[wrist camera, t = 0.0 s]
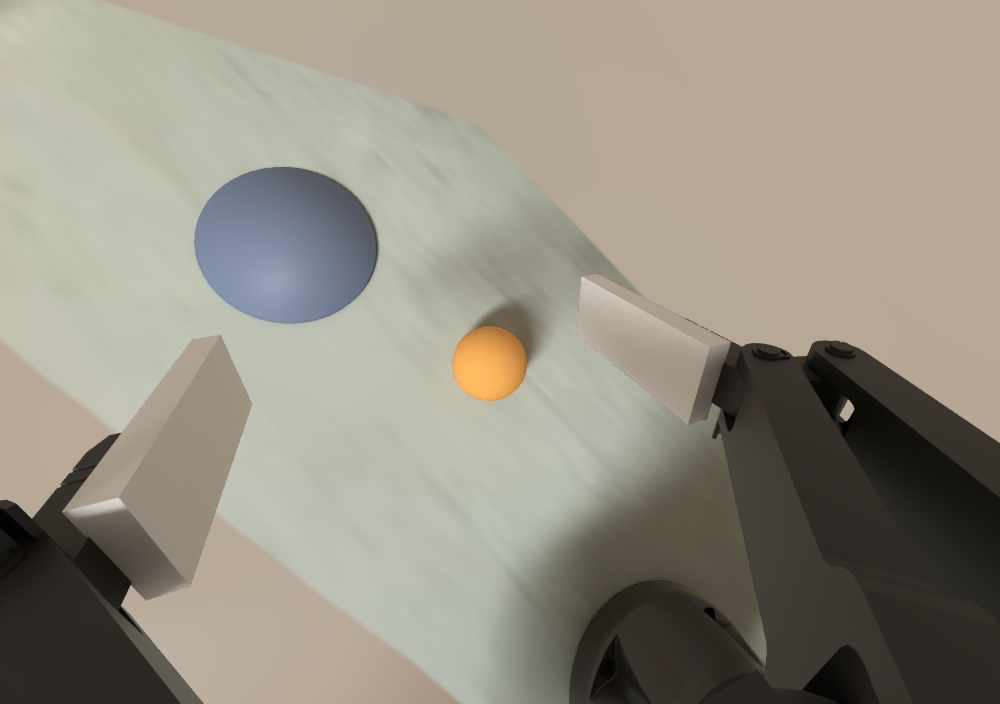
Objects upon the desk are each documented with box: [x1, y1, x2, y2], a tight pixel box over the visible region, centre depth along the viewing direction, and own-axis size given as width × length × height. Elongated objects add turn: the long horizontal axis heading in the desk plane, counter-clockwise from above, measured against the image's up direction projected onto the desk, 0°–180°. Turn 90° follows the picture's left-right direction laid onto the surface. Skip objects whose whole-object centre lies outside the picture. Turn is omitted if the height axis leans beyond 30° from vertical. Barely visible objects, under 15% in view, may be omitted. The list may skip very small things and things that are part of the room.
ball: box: [452, 326, 527, 401], centre depth 28 cm, size 6×6×6 cm
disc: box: [194, 167, 376, 323], centre depth 28 cm, size 12×12×1 cm
